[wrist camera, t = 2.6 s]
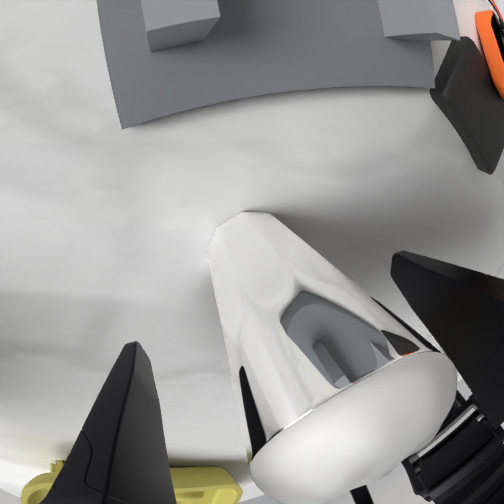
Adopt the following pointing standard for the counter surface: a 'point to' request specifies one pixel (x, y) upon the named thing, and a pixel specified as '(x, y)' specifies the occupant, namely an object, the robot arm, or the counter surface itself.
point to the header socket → (263, 48)
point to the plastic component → (183, 478)
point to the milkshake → (319, 367)
